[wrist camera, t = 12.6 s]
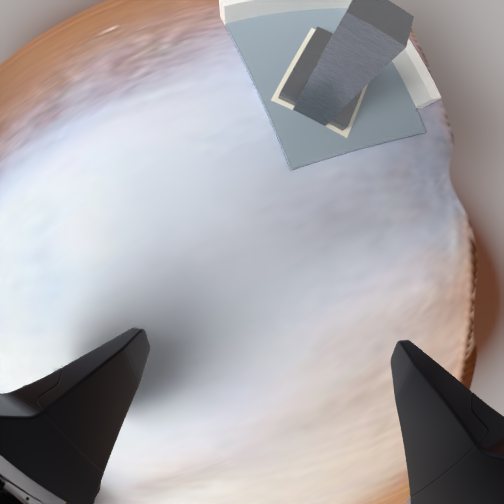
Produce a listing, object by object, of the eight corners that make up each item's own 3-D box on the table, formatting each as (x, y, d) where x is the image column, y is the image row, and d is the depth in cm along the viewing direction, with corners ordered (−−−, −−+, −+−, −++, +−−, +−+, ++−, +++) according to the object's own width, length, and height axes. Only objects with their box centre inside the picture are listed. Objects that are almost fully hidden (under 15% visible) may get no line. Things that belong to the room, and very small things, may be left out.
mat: (290, 170, 20) (291, 169, 20) (225, 26, 18) (225, 23, 18) (424, 133, 20) (426, 132, 20) (355, 10, 18) (357, 8, 18)
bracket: (340, 134, 19) (432, 66, 7) (276, 102, 19) (314, -3, 7) (369, 62, 19) (439, -11, 7) (314, 33, 18) (357, -59, 6)
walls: (278, 140, 20) (284, 128, 17) (220, 16, 18) (218, -4, 15) (423, 107, 20) (441, 98, 17) (360, 2, 18) (369, -14, 15)
